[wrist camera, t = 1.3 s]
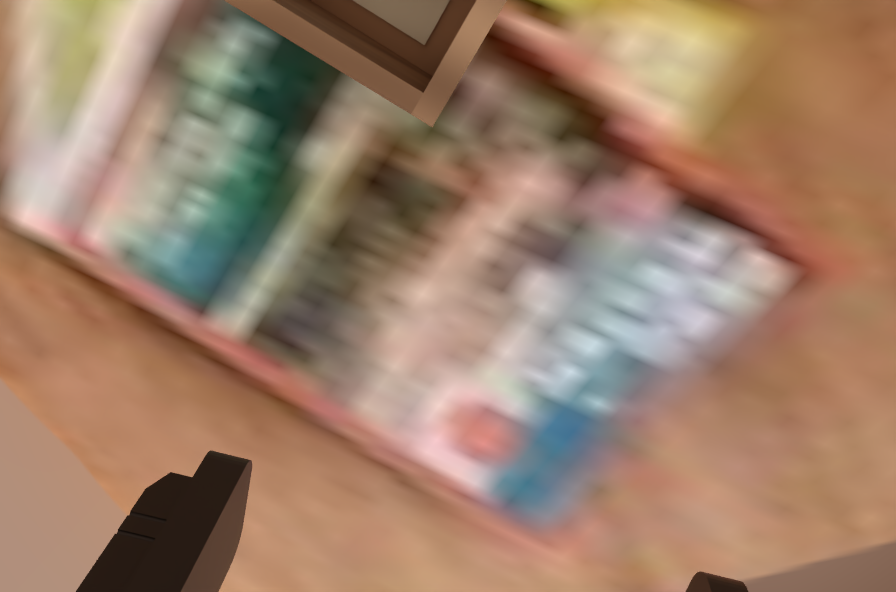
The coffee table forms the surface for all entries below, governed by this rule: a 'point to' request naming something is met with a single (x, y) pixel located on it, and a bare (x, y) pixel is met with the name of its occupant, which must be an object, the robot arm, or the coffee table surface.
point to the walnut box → (387, 42)
